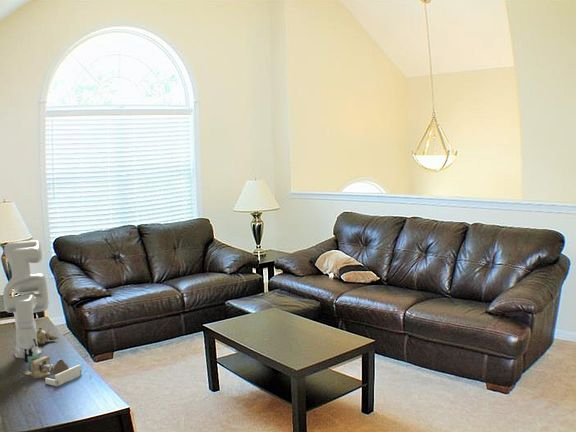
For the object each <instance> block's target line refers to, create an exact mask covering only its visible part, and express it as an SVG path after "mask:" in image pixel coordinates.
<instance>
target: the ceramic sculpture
mask: <svg viewBox="0 0 576 432" xmlns="http://www.w3.org/2000/svg"><path fill="white" fill-rule="evenodd" d="M36 333H37V344H38V345H44V344H45V343H47V342H49V341H56V340H57V339H59V338H58V336H55V335H54V334H52V333H51V334H50V333H49V331H48V330H46V329H43V328H42V327H40V328H38V329H37V328H36Z"/></svg>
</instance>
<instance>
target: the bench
mask: <svg viewBox="0 0 576 432" xmlns="http://www.w3.org/2000/svg"><path fill="white" fill-rule="evenodd" d="M39 363H44V364H49V365H51V361H50V356H42V357H40V358H39V359H37V360H34V361H32V362H31V370H32V372H29V370H26V371H24V372H23V374H24V375H27V376H32V377H31V378H35V379H37V378H41V379H45V378H47V377H48V376H51V375H54V374H53V373H49V372H48V371H44V370H39Z"/></svg>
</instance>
